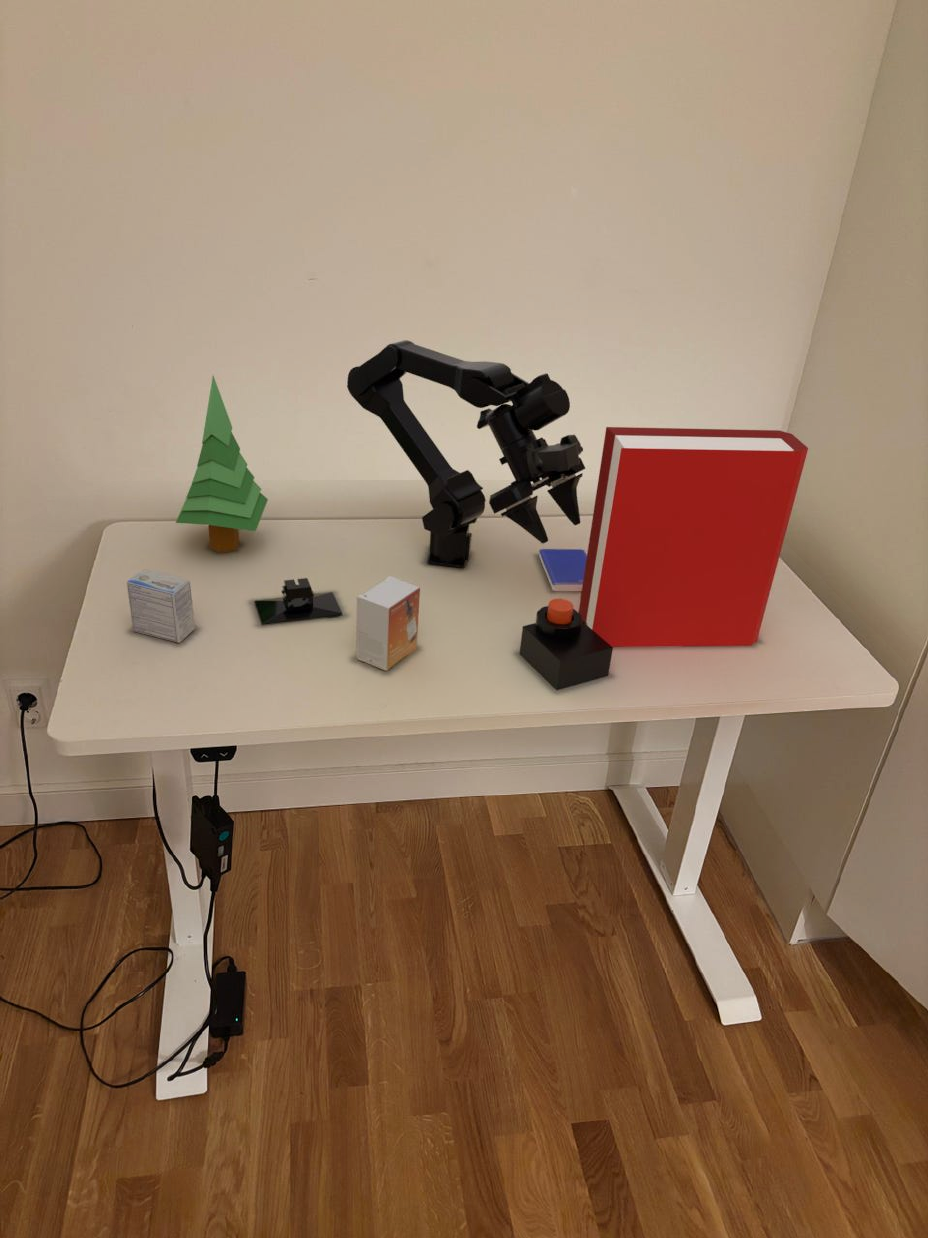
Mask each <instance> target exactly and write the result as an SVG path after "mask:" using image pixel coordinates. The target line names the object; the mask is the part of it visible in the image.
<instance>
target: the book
mask: <svg viewBox="0 0 928 1238" xmlns="http://www.w3.org/2000/svg"><path fill="white" fill-rule="evenodd" d="M602 446H603V447H602V453H601V458H600V459H601V460H600V466H599V473H598V480H597V487H596V493H595V498H594V499H595V500H594V507H593V513H592V520H591V526H590V533H589V541H588V546H587V553H586V555H587V559H586V566H585V572H584V579H583V586H582V591H580V592H581V593H580V601H579V607H578V611H577V612H578V613H579V614H581V617H582V622H584V623H585V624H586V625H587V626H588V627H589V628H591V629H592V630H593V631H594V632H595V633H597V634H598V635H599V636H600V637H601V638H602V639H604V640H605V641H606V642H607V643H608V644H609V645H611V646H612V647H613V648H640V647H641V648H645V647H646V648H648V647H649V648H650V647H651V648H653V647H732V646H733V647H738V646H740V647H741V646H742V647H743V646H744V647H745V646H753V645H754V644H756V643H757V642H758V639H759V634H760V631H761V627H762V624H763V619H764V616H765V612H766V608H767V605H768V601H769V597H770V593H771V591H772V590H771V589H772V586H773V582H774V579H775V575H776V572H777V568H778V564H779V559H780V555H781V552H782V549H783V544H784V541H785V537H786V533H787V530H788V526H789V524H790V523H789V522H790V519H791V514H792V511H793V508H794V504H795V500H796V496H797V492H798V489H799V485H800V481H801V476H802V473H803V470H804V466H805V462H806V458H807V456H808V451H809V447H808V446H807V445H806V444H804V443H803V442H802V441H801V440H800V439H799V438H798V437H796V436H795V435H794V434H793V433H790V432H786V431H782V430H780V429H779V430H777V429H775V430H774V429H773V430H772V429H732V428H731V429H729V428H728V429H725V428H724V429H723V428H679V427H673V428H672V427H633V426H632V427H629V426H627V427H626V426H623V427H622V426H606V427H605V433H604V439H603V445H602Z"/></svg>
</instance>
